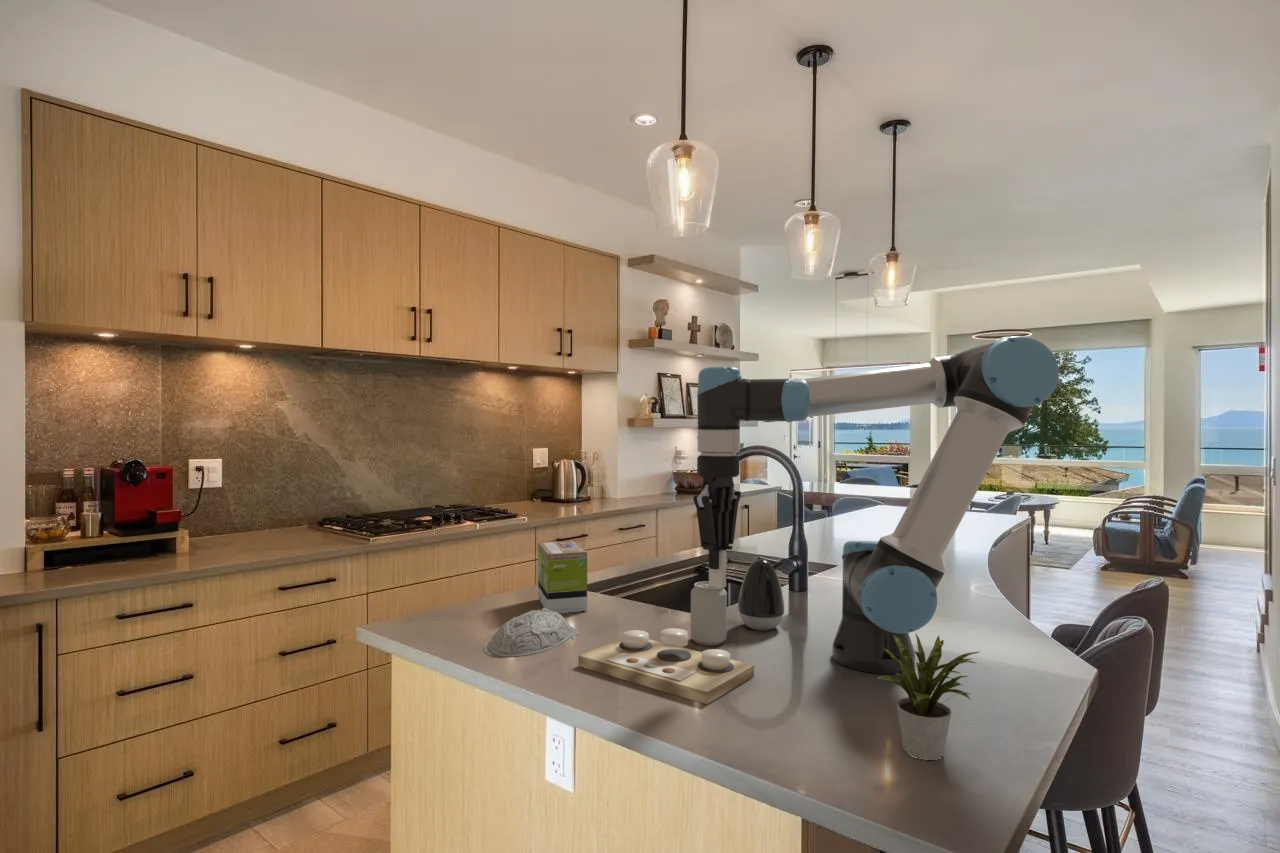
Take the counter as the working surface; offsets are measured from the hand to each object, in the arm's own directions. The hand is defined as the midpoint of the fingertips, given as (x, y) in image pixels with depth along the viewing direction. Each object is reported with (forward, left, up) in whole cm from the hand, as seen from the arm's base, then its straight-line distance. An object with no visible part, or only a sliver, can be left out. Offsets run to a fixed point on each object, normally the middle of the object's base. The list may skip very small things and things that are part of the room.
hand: (717, 586), depth 124 cm
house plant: (-38, +7, -17) cm, 42 cm away
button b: (+9, 0, -12) cm, 15 cm away
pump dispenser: (+8, -33, -17) cm, 38 cm away
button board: (+9, +3, -16) cm, 19 cm away
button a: (0, 0, -14) cm, 14 cm away
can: (+12, -17, -17) cm, 27 cm away
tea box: (+55, -18, -17) cm, 60 cm away
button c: (+18, 0, -14) cm, 23 cm away
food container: (+41, +5, -17) cm, 45 cm away
